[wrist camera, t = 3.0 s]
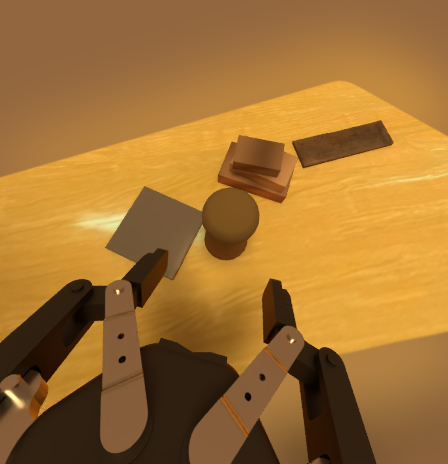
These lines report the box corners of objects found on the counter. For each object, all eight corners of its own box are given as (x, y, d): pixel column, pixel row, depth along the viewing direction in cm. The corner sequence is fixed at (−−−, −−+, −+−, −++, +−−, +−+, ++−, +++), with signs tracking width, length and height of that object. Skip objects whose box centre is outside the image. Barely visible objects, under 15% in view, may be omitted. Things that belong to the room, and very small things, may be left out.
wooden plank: (305, 165, 28) (294, 138, 29) (301, 170, 29) (290, 143, 30) (394, 143, 30) (381, 118, 31) (387, 148, 31) (374, 124, 32)
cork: (195, 234, 25) (180, 202, 15) (229, 210, 27) (237, 164, 16) (221, 269, 24) (224, 261, 14) (256, 242, 25) (283, 216, 15)
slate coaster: (107, 248, 25) (105, 247, 24) (146, 188, 27) (144, 186, 26) (173, 279, 24) (172, 280, 23) (206, 215, 26) (206, 213, 26)
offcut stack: (218, 182, 28) (218, 159, 22) (231, 150, 29) (234, 122, 24) (281, 203, 27) (296, 184, 22) (290, 169, 29) (307, 144, 23)
